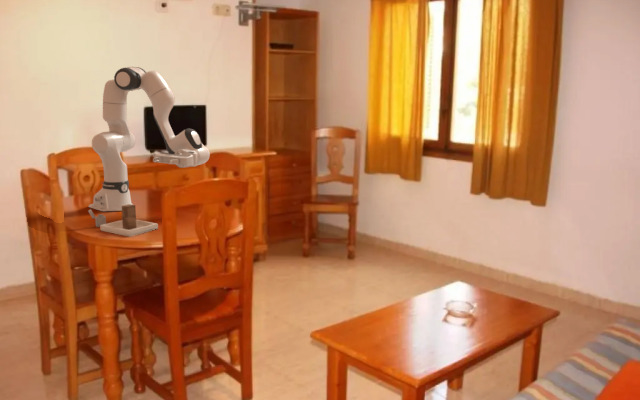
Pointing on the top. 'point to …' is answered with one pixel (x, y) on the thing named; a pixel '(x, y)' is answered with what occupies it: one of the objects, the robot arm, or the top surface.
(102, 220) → the lighter
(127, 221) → the walnut block
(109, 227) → the tray
